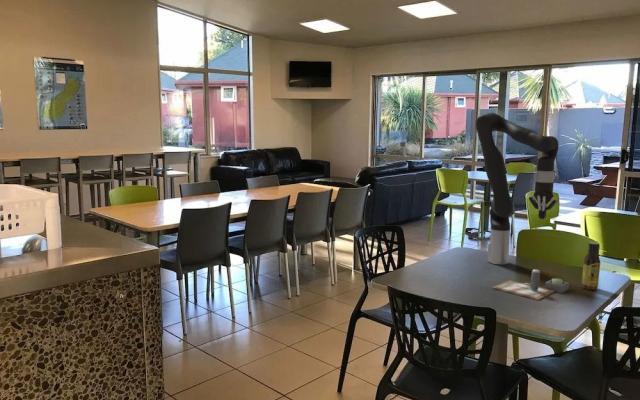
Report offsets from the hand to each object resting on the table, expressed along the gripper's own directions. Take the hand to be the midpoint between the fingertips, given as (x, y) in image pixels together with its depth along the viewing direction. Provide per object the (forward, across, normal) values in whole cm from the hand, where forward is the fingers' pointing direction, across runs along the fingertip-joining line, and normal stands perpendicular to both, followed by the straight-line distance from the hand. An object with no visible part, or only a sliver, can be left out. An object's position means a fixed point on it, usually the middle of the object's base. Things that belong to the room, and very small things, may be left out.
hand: (541, 218), depth 235 cm
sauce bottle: (+27, -23, +1) cm, 36 cm away
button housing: (+27, -14, +13) cm, 33 cm away
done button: (+26, -14, +13) cm, 33 cm away
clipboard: (+27, -5, +25) cm, 37 cm away
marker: (+26, -9, +24) cm, 36 cm away
